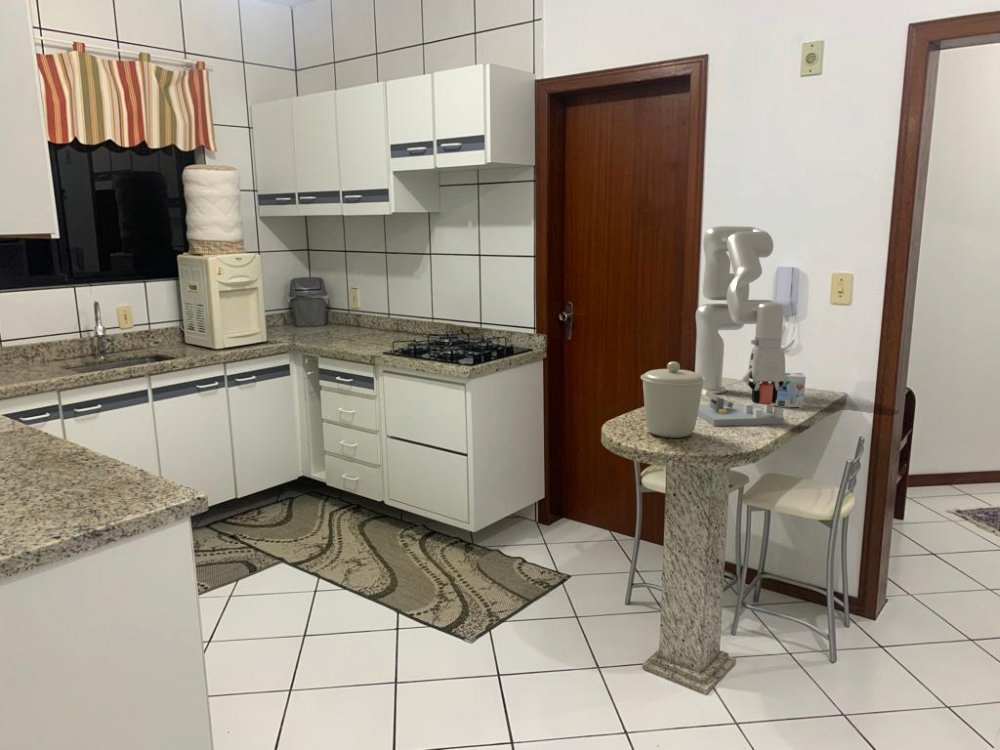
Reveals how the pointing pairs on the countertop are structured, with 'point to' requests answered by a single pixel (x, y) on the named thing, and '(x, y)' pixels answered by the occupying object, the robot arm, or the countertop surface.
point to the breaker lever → (716, 398)
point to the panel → (739, 414)
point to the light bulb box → (791, 391)
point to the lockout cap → (765, 393)
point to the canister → (672, 400)
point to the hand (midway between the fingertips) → (763, 401)
